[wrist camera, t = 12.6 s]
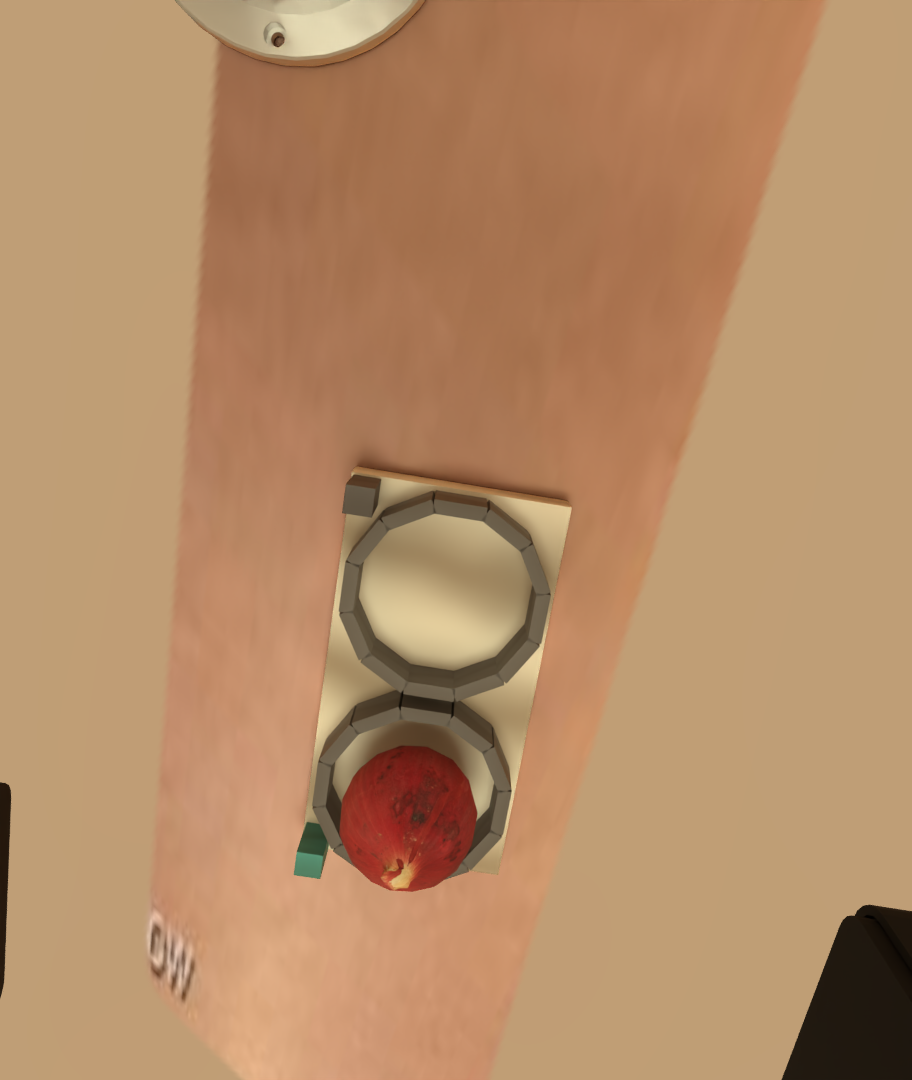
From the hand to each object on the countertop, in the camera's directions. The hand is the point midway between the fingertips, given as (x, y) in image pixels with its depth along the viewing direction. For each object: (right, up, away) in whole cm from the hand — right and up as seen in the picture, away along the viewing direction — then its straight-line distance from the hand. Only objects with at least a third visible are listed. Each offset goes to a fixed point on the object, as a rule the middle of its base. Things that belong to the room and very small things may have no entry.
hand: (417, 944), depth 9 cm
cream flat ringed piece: (-1, -2, +31) cm, 31 cm away
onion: (-2, -6, +31) cm, 31 cm away
